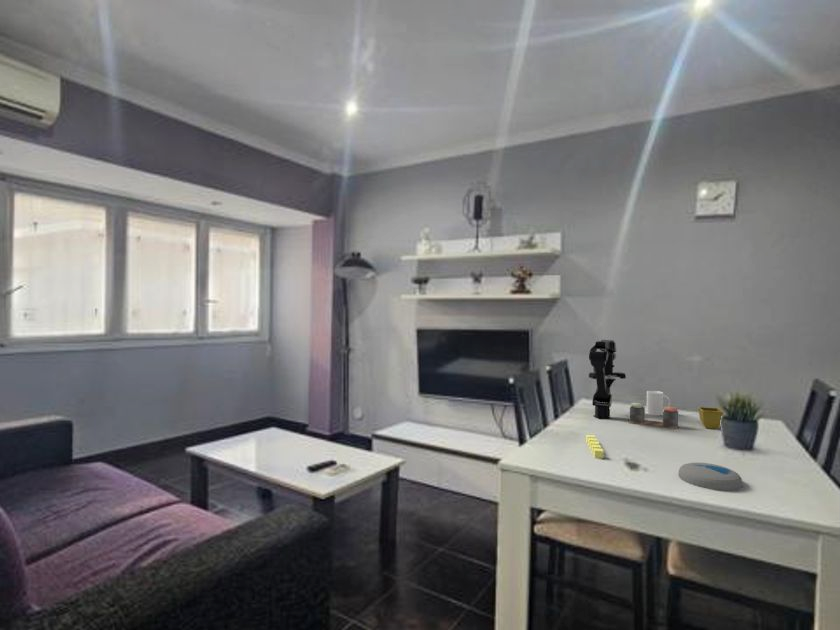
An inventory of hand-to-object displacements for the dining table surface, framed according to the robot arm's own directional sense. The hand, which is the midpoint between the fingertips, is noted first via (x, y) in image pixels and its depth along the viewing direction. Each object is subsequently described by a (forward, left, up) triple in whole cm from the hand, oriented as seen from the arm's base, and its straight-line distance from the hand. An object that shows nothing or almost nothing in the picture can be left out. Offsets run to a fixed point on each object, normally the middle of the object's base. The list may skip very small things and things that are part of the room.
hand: (606, 391), depth 261 cm
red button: (+16, -31, -8) cm, 36 cm away
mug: (+27, -5, -12) cm, 30 cm away
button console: (+11, -26, -12) cm, 30 cm away
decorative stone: (-17, -99, -13) cm, 101 cm away
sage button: (+5, -21, -8) cm, 23 cm away
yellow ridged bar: (-37, -62, -13) cm, 73 cm away
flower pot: (+35, -34, -12) cm, 50 cm away
